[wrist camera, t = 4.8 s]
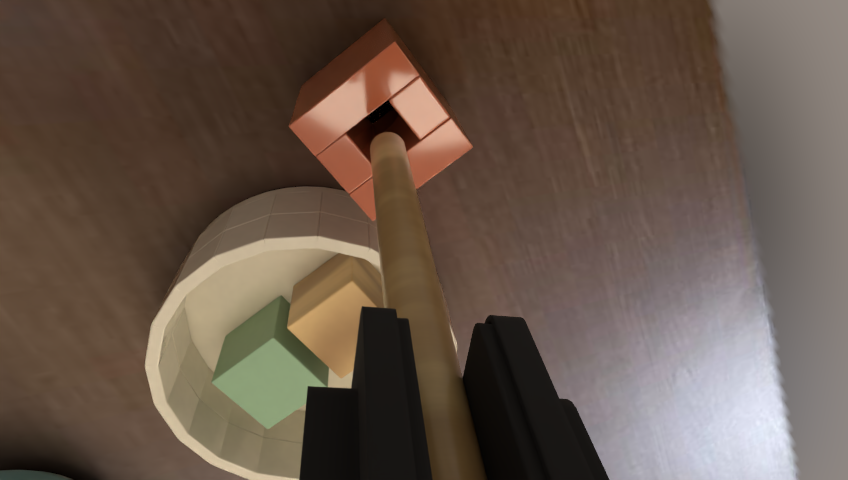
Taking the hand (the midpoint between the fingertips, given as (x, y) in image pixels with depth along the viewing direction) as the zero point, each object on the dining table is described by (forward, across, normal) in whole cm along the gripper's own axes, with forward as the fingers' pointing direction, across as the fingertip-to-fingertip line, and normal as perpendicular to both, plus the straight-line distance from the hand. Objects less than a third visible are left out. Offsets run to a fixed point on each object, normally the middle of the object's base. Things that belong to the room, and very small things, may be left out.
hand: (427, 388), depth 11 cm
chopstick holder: (+22, 0, 0) cm, 22 cm away
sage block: (+21, +4, +14) cm, 26 cm away
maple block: (+21, 0, +11) cm, 24 cm away
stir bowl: (+22, +2, +12) cm, 25 cm away
